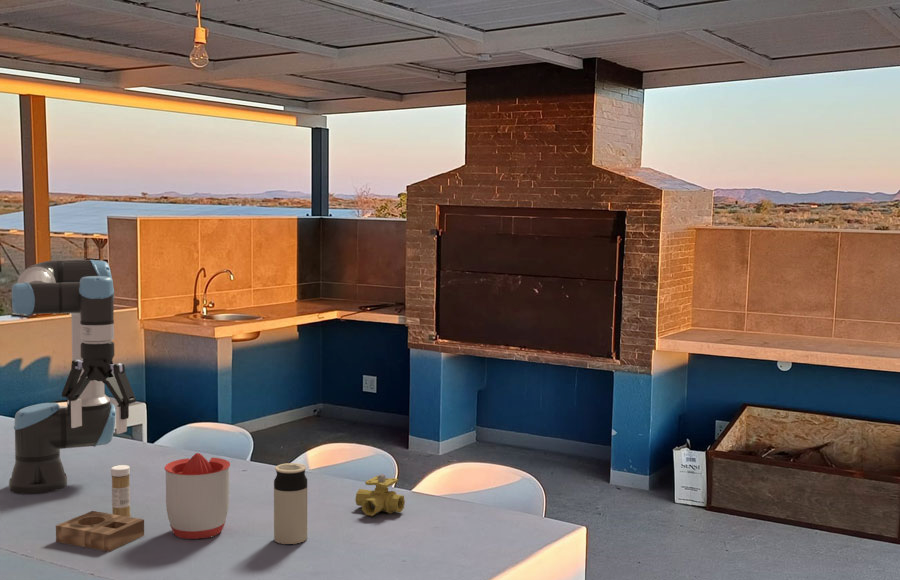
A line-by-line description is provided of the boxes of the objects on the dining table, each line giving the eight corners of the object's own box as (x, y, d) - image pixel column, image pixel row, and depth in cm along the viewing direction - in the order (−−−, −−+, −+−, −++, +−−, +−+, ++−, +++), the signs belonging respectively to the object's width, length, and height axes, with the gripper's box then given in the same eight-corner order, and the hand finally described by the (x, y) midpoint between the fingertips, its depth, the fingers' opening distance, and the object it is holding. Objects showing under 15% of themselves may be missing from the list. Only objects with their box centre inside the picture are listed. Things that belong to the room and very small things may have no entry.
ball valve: (406, 510, 250) (407, 474, 249) (388, 521, 241) (389, 484, 240) (365, 504, 255) (366, 468, 254) (346, 514, 246) (346, 477, 245)
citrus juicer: (232, 518, 241) (232, 442, 239) (228, 541, 224) (228, 460, 222) (170, 520, 238) (169, 444, 237) (161, 544, 221) (160, 462, 220)
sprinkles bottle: (129, 514, 243) (128, 463, 242) (131, 519, 239) (130, 468, 238) (110, 516, 241) (110, 465, 240) (112, 521, 237) (112, 470, 236)
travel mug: (292, 547, 221) (292, 473, 219) (267, 541, 225) (266, 468, 223) (314, 538, 227) (314, 465, 226) (289, 531, 232) (289, 460, 230)
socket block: (56, 541, 222) (55, 525, 222) (92, 526, 233) (92, 510, 233) (109, 551, 216) (109, 534, 216) (144, 535, 228) (144, 519, 227)
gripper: (44, 340, 222) (46, 427, 224) (128, 347, 213) (129, 438, 215) (68, 336, 229) (69, 421, 231) (150, 343, 220) (151, 431, 222)
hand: (98, 429), depth 223 cm, fingers open, 13 cm apart
